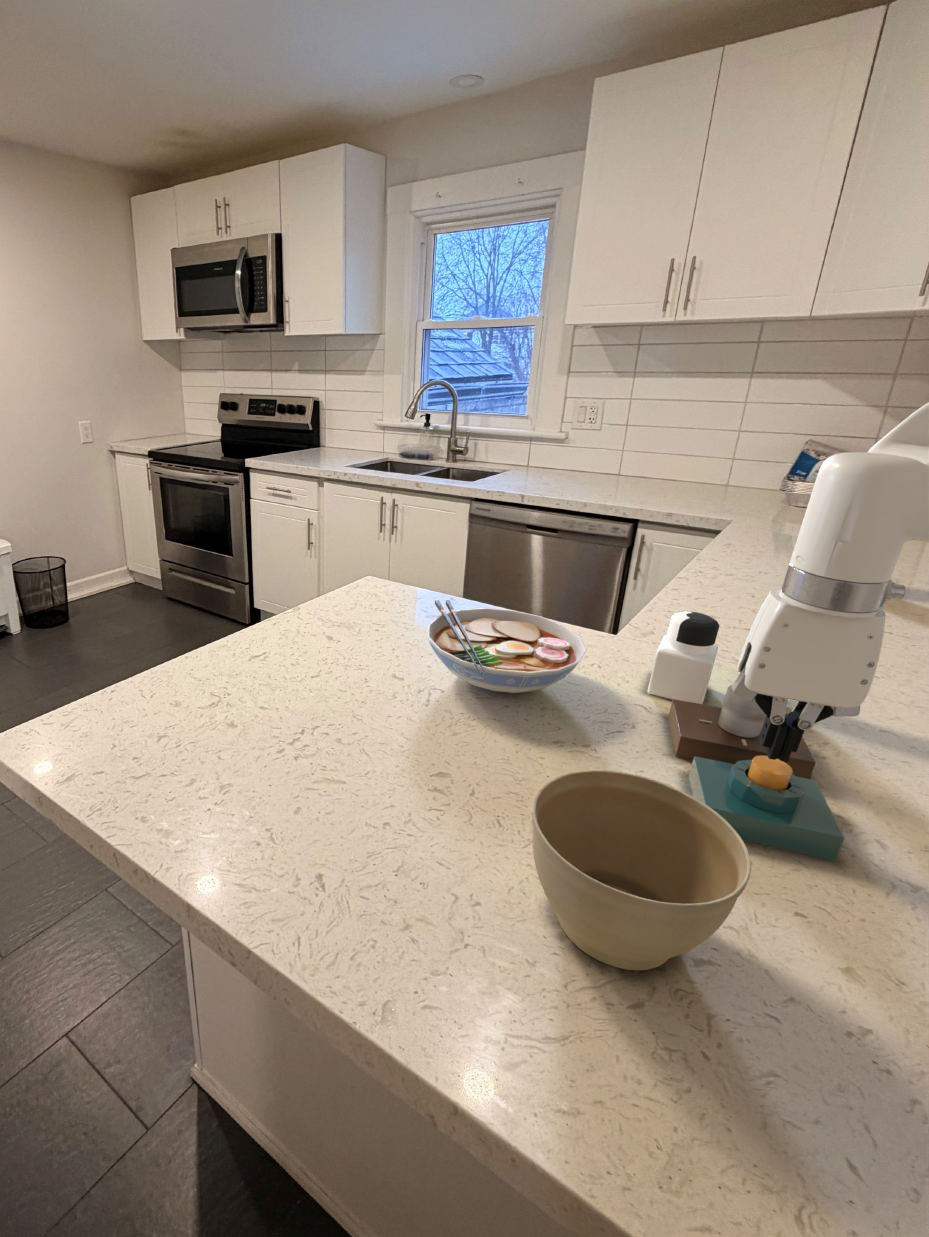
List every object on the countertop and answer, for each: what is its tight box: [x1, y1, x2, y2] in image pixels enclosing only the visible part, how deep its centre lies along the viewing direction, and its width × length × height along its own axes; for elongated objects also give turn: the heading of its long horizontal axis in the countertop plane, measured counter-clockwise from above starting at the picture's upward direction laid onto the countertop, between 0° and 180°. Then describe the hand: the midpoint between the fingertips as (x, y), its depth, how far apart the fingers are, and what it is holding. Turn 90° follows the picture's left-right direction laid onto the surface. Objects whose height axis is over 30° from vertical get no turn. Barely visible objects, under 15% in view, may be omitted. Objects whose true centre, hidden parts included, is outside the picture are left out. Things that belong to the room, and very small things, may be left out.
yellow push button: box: [748, 756, 793, 791], centre depth 70 cm, size 4×4×2 cm
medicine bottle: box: [647, 611, 720, 704], centre depth 95 cm, size 7×7×12 cm
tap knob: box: [718, 684, 766, 738], centre depth 82 cm, size 5×5×5 cm
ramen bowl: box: [426, 599, 588, 694], centre depth 99 cm, size 25×23×8 cm
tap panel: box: [667, 699, 817, 779], centre depth 83 cm, size 14×10×3 cm
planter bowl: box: [531, 769, 752, 971], centre depth 56 cm, size 16×16×11 cm
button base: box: [687, 756, 845, 862], centre depth 71 cm, size 12×10×5 cm
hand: (774, 753), depth 69 cm, fingers closed
